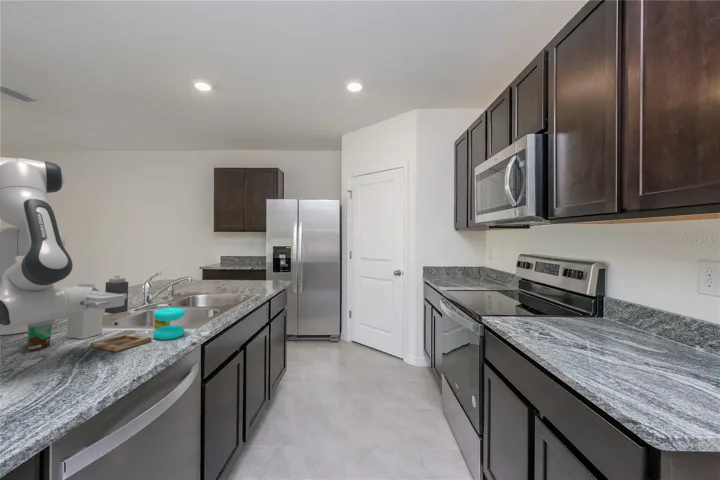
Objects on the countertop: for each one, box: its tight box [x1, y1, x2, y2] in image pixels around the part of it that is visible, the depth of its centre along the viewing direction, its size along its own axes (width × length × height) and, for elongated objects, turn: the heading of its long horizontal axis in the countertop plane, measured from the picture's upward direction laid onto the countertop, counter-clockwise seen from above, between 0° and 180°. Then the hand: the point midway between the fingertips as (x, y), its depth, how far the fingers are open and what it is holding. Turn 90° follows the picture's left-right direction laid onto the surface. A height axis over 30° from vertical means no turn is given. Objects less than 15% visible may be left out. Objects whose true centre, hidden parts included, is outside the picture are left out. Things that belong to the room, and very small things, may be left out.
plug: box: [104, 273, 129, 315], centre depth 109 cm, size 4×4×13 cm
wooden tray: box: [90, 332, 152, 354], centre depth 110 cm, size 12×12×2 cm
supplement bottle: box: [153, 303, 171, 331], centre depth 130 cm, size 5×5×10 cm
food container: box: [27, 319, 56, 353], centre depth 107 cm, size 12×6×10 cm, turn 47°
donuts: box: [152, 307, 186, 341], centre depth 121 cm, size 10×10×10 cm
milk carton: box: [66, 282, 104, 340], centre depth 118 cm, size 7×7×19 cm
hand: (119, 294), depth 110 cm, fingers closed on plug, 4 cm apart
